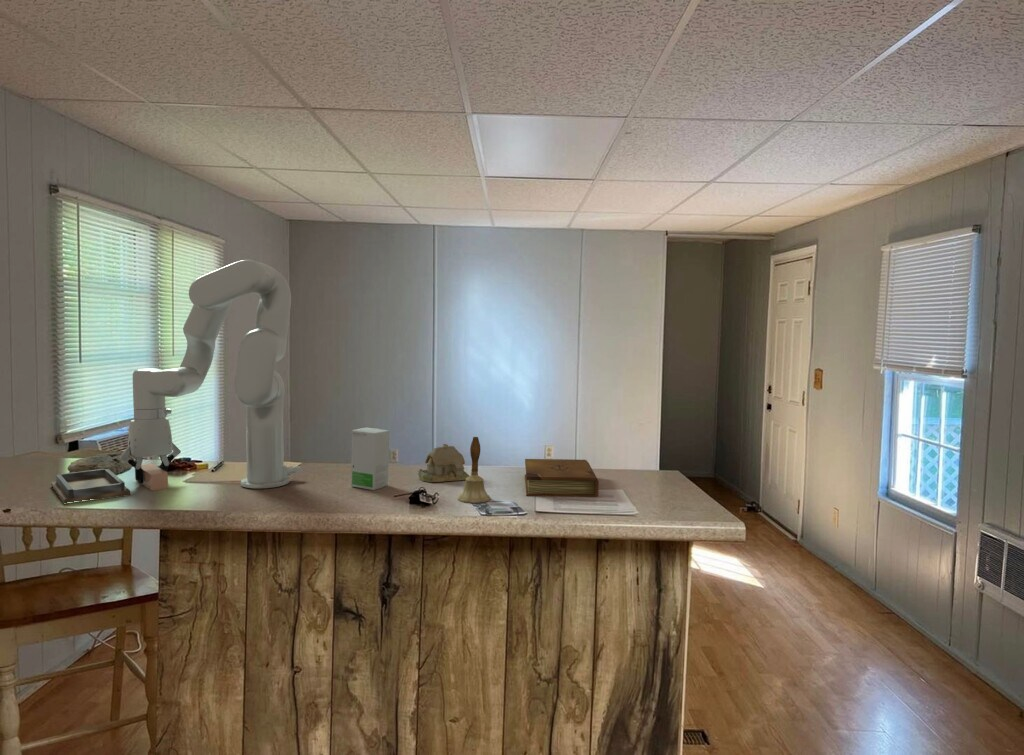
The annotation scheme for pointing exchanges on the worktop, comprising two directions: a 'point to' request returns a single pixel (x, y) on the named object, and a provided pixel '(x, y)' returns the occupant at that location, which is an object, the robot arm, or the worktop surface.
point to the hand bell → (474, 479)
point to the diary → (560, 478)
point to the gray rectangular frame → (89, 485)
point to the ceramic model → (443, 465)
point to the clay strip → (154, 477)
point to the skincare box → (369, 458)
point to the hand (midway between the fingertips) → (151, 480)
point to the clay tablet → (101, 463)
